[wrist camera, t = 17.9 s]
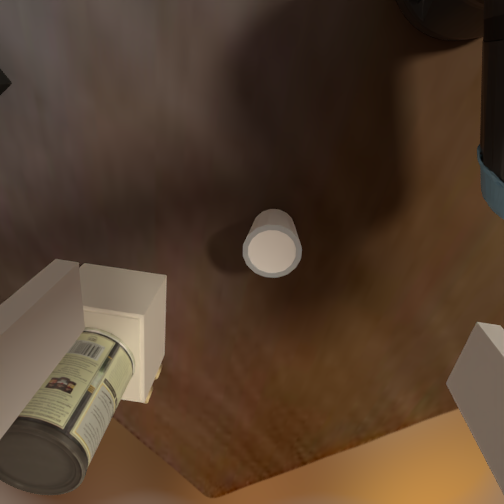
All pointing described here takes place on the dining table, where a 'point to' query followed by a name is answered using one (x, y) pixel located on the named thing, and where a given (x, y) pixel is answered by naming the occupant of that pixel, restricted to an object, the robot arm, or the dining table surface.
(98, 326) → the cabinet
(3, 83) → the coral
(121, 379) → the coffee can
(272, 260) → the shot glass
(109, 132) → the dining table surface
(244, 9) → the dining table surface
